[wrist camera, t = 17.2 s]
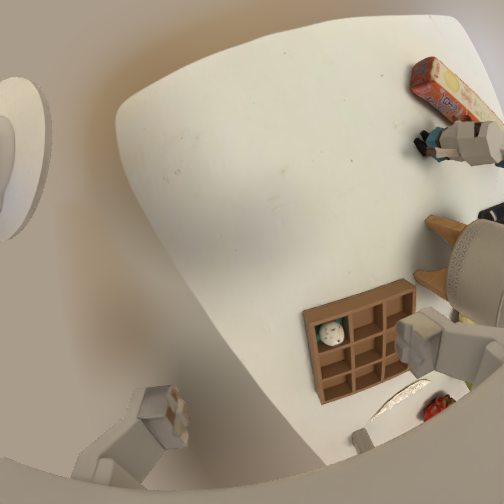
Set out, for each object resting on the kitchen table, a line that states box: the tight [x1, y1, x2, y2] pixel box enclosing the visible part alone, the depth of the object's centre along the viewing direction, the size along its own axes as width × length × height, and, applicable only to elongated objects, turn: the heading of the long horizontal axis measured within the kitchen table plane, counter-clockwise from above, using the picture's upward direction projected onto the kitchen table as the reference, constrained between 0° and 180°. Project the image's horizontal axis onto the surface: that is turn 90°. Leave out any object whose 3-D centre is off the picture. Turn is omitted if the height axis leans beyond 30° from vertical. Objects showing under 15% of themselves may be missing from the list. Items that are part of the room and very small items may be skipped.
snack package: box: [410, 57, 504, 162], centre depth 26 cm, size 21×7×7 cm, turn 69°
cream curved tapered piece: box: [370, 380, 431, 422], centre depth 42 cm, size 15×4×2 cm, turn 116°
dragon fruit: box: [424, 394, 456, 422], centre depth 42 cm, size 8×8×12 cm
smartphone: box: [479, 203, 504, 224], centre depth 34 cm, size 7×1×15 cm
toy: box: [414, 115, 504, 168], centre depth 23 cm, size 9×6×15 cm
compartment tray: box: [303, 279, 416, 405], centre depth 36 cm, size 16×16×3 cm
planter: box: [413, 215, 504, 328], centre depth 26 cm, size 13×13×18 cm
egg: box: [319, 320, 344, 346], centre depth 33 cm, size 3×3×5 cm
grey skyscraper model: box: [352, 428, 375, 454], centre depth 39 cm, size 3×5×12 cm, turn 18°
